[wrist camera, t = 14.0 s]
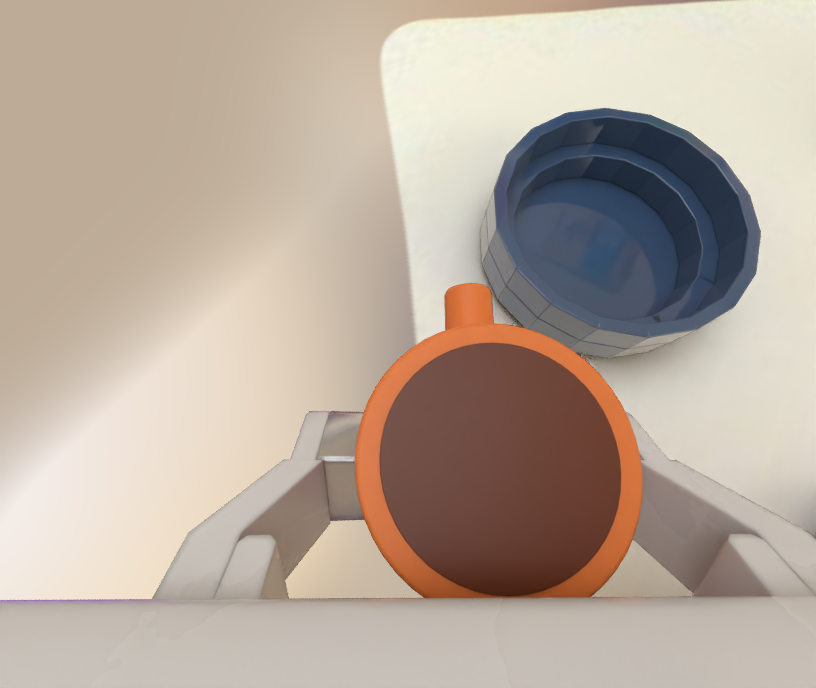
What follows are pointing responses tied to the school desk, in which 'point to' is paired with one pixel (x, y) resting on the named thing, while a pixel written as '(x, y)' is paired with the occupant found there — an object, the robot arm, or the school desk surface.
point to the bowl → (617, 233)
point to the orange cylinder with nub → (497, 463)
